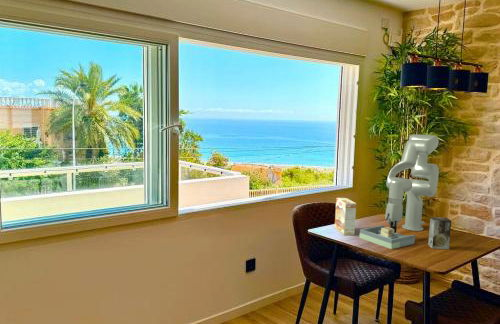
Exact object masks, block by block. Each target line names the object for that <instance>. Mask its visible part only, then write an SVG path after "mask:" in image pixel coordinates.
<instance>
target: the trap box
mask: <svg viewBox="0 0 500 324" xmlns="http://www.w3.org/2000/svg"><path fill="white" fill-rule="evenodd" d="M384 227H385V225H383V224H382V225H377V226H371V227H370V226H369V227H366V228H360V229H359V239H361V240H363V241H364V240H365V241H367V242H370V243H373V244H376V245H379V246H381V247H383V248H387V249H390V250H393V249H398V248H401V247H402V248H403V247H406V246H411V245H414V244H415V242H416V235H415V234H411V235H410V234H409V235H405V234H402V233H399V232H396V233H394V236H391V237H386V236H383V235H381V228H384Z"/></svg>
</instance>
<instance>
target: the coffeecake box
mask: <svg viewBox="0 0 500 324" xmlns="http://www.w3.org/2000/svg"><path fill="white" fill-rule="evenodd" d="M356 213H357V202H355V201H354V200H353V201H352V200H351V199H349V198H347V197H336V199H335V214H334V216H335V217H334V229H335V230H336V231H337V232H338V233H340V234H341V235H342V236H355V230H356V229H355V228H356Z"/></svg>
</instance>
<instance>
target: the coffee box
mask: <svg viewBox="0 0 500 324" xmlns="http://www.w3.org/2000/svg"><path fill="white" fill-rule="evenodd" d="M451 228H452V220H451V219H450V218H449V217H439V216H438V217H435V216H430V219H429V229H428V230H429V231H428V243H427V245H428V246H429V247H430V248H431V249H437V250H441V249H442V250H450V242H451V241H450V240H451V231H452V230H451Z"/></svg>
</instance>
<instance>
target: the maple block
mask: <svg viewBox="0 0 500 324" xmlns="http://www.w3.org/2000/svg"><path fill="white" fill-rule="evenodd" d="M381 235H383V236H386V237H391V236H394V229H392V228H390V227H389V226H386V227H385V226H384V228H381Z"/></svg>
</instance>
